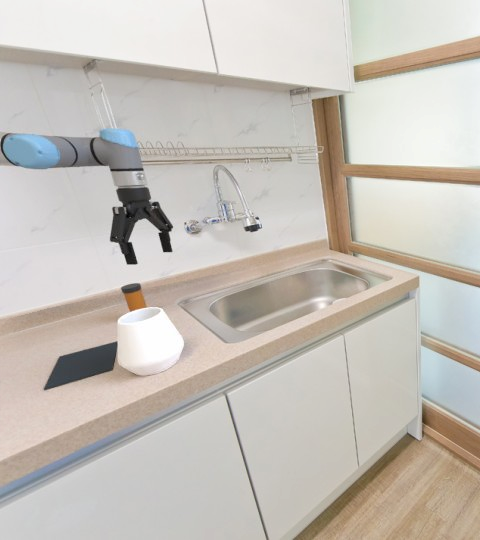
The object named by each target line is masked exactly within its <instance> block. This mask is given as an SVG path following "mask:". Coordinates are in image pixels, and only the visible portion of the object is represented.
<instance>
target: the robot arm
mask: <svg viewBox="0 0 480 540" xmlns="http://www.w3.org/2000/svg"><path fill="white" fill-rule="evenodd" d="M98 134H99V136H96V137H91V136H90V137H89V136H87V137H86V136H85V137H84V136H83V137H81V136H58V135H46V134H45V135H44V134H34V133H32V134H31V133H13V132H4V131H3V132H2V131H0V166H4V167H5V166H6V167H20V168H23V169H29V170H48V169H59V168H60V169H61V168H80V167H82V168H84V167H108V168H109V171H110V174H111V175H110V176H111V178H112V183H113V184H114V187H116V190H115V192H116V195H117V199H118V201H119V202H121V204H122V206H112V208H111V210H112V215H113V216H112V221H111V229H110V236H109V241H110V242H111V243H115V244H118V246H119V248H120V252H121V254H122V255H123V256H124V259H125V263H126V266H127V265H128V266H129V265H135V266H136V265H138V264H139V262H138V259H137V256H136V251H135V248H134V245H133V242H132V241H130V238H131V236H132V234H133V233H132V232H133V231H134V228H135V227H136V223H138V222H139V221H141V220H146V221H148V222H149V223H150V224H151V225H153V226H154V227H155V228H156V229H157V230H158V231H160V232H158V233H157V235H158V238H159V242H160V245H161V248H162V253H173V252H174V251H173V248H172V244H171V242H172V241H171V235H170V232H172V231H173V228H174V226H173V224H172V222H171V221H170V219H169V217H167V215H166V213H165V212H164V210H163V209H162V208H161V204H160V202H159V201H151V200H152V195H151V191H150V188H148V187H147V186H148V181H147V177H146V173H145V169H144V165H143V161H142V157H141V153H140V149H139V148H140V146H138V142H137V139H136V136H135V133H134V132H133V131H132V130H130V129H127V128H126V129H125V128H101V129H99V131H98Z"/></svg>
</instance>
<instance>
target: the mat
mask: <svg viewBox="0 0 480 540" xmlns="http://www.w3.org/2000/svg"><path fill="white" fill-rule="evenodd" d="M117 351H118V340H117V341H113V342H108V343H104V344H102V345H98V346H97V345H96V346H93V347H90V348H86V349H82V350H79V351H75V352H71V353H67V354H64V355H60V356H58V358H57V361H56V363H55V365H54V366H53V369H52V371H51V373H50V375H49V378H48V379H47V381H46V383H45V385H44V388H43V390H44V391H47V390H50V389H54V388H57V387H60V386H64V385H67V384H71V383H73V382H77V381H82V380H84V379H87V378H90V377H93V376H97V375H101V374H105V373H108V372H111V371H113V370H114V365H115V360H116V356H117Z"/></svg>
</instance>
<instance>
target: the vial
mask: <svg viewBox="0 0 480 540" xmlns="http://www.w3.org/2000/svg"><path fill="white" fill-rule="evenodd" d="M120 290H121V293H122V294H123V296H124V299H125V301H126V304H127V307H128V311H129V312H132V311H135V310H139V309H143V308H148V307H147V303H146V300H145V297H144V294H143V290H142V285H141V283H140V282H134V283H129V284H125V285H123V286H121V287H120Z"/></svg>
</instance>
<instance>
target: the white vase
mask: <svg viewBox="0 0 480 540" xmlns="http://www.w3.org/2000/svg"><path fill="white" fill-rule="evenodd" d="M116 324H117V325H116V326H117V327H116V328H117V329H116V330H117V332H116V333H117V341H118V345H117V363H118V364H119V366H120V367H122V368H124V369H125V370H127V371H129V372H131V373H133V374H135V375H137V376H139V377H140V376H141V377H143V376H144V377H146V376H151V375H153V376H154V375H156V374H159V373H162V372H164V371H166V370H168V369H170V368H172V367H174V365H175V364H177V362H178V361H179V359H180V357H181V354H182V352H183V349H184V347H185V341H184V338H183V335H182V334H180V332H179V330H178V329H177V328H176V326H175V325H174V323H173V322H172V321H171V319H170V318H169V316H168V315H167V313H166V312H165V310H164V309H163V308H161V307H157V306H150V307H147V308H143V309H139V310H135V311H132V312H130V311H129V312H127V313H125V314H124V315H121V316H120V317H119V318H118V319H117V323H116Z"/></svg>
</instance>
